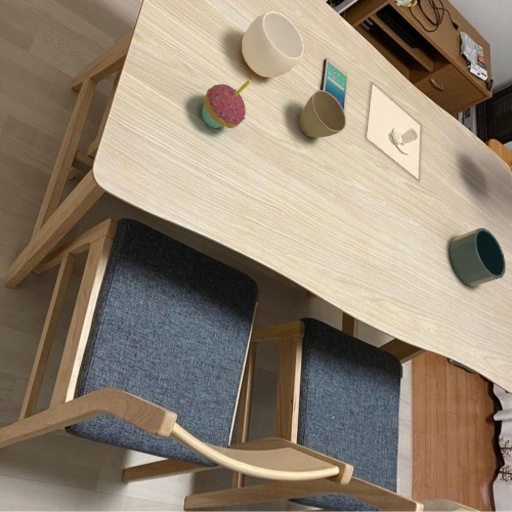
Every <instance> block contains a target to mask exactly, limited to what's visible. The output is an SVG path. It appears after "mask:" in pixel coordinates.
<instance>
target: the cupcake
mask: <svg viewBox="0 0 512 512" xmlns="http://www.w3.org/2000/svg"><path fill="white" fill-rule="evenodd" d="M253 79H254V76H252V77H251V78H249V79H247V80H246V81H245V82H244V83H243V84H242V85H241V86H240V87H239V88H238V89H236V88H235V89H234V88H233V87H231V86H230V85H229V84H224V83H221V84H219V83H218V84H214V85H213V86H210V87H209V88H208V89H207V91H206V93H205V96H204V98H203V101H204V105H203V106H202V108H201V117H202V119H203V121H204V122H205V124H206V125H207V126H209V127H210V128H213V129H219V128H222V127H225V128H227V129H234V128H236V127H238V126H239V125H240V124H241V123H243V121H244V120H245V119H246V112H247V109H246V104H245V100H244V99H243V96H241V93H242V92H243V91H244V90H245V89H246V88H247V87H248V86H249V85H250V84H251V83H252V80H253Z"/></svg>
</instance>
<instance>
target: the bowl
mask: <svg viewBox="0 0 512 512" xmlns="http://www.w3.org/2000/svg"><path fill="white" fill-rule="evenodd" d="M448 257H449V261H450V264H451V267H452V269H453V271H454V273H455V275H456V276H457V278H458V279H459V280H460V281H461V282H462V283H463V284H464V285H465V286H468V287H470V288H471V287H473V288H474V287H477V286H480V285H484V284H486V283H489V282H493V281H495V280H500V279H502V278H503V277H504V275H505V274H506V267H507V264H506V258H505V254H504V252H503V249H502V247H501V245H500V243H499V241H498V239H497V238H496V237H495V235H493V233H492V231H490V230H488V229H486V228H485V227H480V228H478V227H477V228H476V229H473V230H471V231H468V232H466V233H464V234H461V235H458V236H456V237H454V238H452V240H451V241H450V243H449V246H448Z"/></svg>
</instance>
